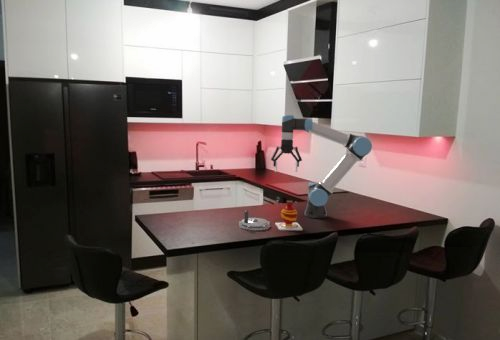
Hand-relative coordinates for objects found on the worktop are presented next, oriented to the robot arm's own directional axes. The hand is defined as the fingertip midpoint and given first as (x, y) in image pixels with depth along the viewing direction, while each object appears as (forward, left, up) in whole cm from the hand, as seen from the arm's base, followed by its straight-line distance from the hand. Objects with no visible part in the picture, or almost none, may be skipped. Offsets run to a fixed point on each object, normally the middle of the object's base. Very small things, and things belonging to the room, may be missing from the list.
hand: (285, 171), depth 269 cm
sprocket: (+22, +19, -30) cm, 42 cm away
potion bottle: (+1, +20, -31) cm, 37 cm away
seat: (+1, +20, -32) cm, 38 cm away
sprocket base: (+22, +19, -32) cm, 43 cm away
